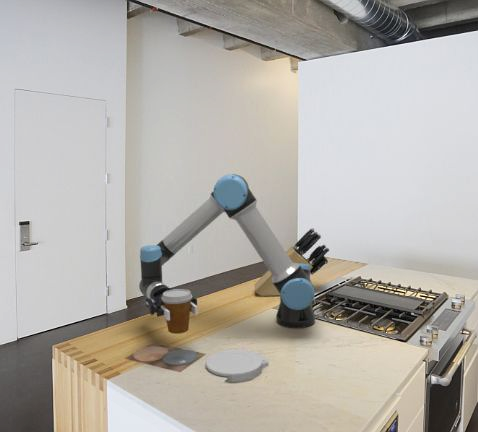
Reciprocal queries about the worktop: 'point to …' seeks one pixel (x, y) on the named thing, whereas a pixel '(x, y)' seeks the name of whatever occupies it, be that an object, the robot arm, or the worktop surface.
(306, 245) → the knife block
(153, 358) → the terracotta disc
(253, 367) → the lid
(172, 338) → the worktop surface
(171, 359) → the slate disc
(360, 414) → the worktop surface
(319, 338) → the worktop surface
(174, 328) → the disposable coffee cup
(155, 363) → the walnut board
